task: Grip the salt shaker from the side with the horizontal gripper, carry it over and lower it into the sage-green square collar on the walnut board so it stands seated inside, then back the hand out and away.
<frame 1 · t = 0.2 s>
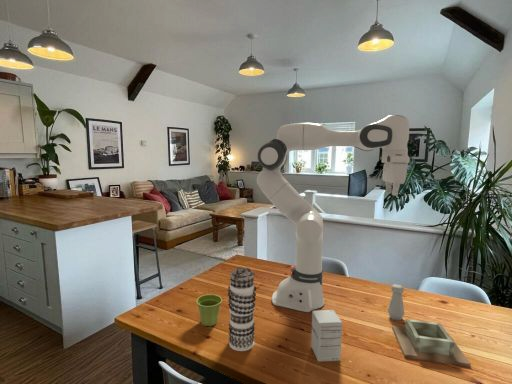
hand: (391, 194, 112), 48 cm above the table, tool pointing down, fingers open, 8 cm apart
supplement box: (325, 354, 91), on the table
plant pot: (209, 322, 107), on the table
salt shaker: (395, 318, 112), on the table
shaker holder: (427, 345, 95), on the table
decorative candle: (241, 343, 95), on the table
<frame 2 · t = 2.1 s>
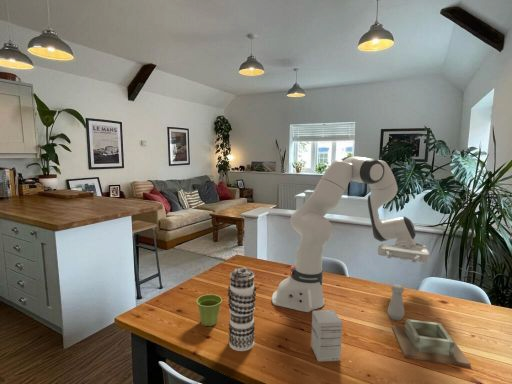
hand: (401, 258, 120), 20 cm above the table, tool horizontal, fingers open, 8 cm apart
nothing on the table moved.
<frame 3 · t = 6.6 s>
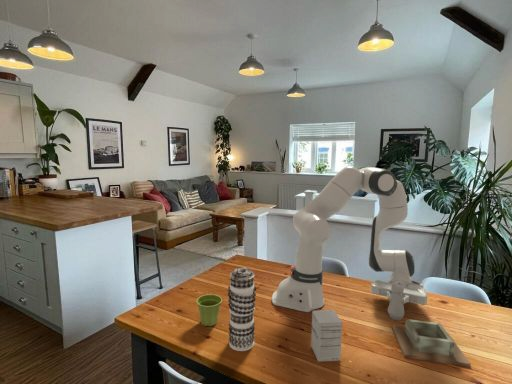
hand: (396, 300, 110), 8 cm above the table, tool horizontal, fingers closed on salt shaker, 3 cm apart
salt shaker: (395, 318, 112), on the table, touching gripper
everything else where it was.
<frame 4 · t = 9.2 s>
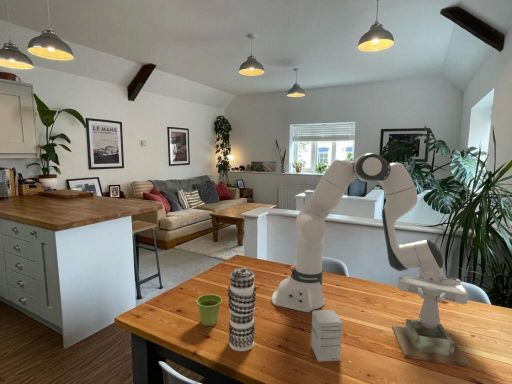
hand: (431, 298, 92), 17 cm above the table, tool horizontal, fingers closed on salt shaker, 3 cm apart
salt shaker: (428, 325, 94), point 7 cm above the table, touching gripper
everything else where it was.
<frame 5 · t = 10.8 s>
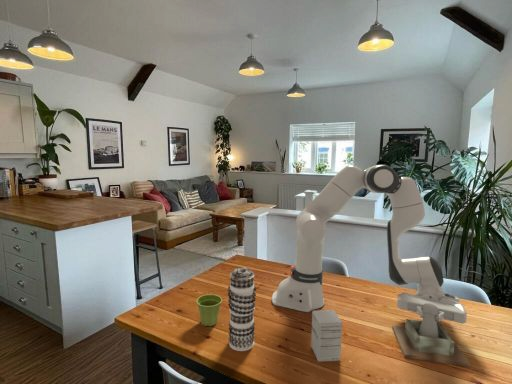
hand: (430, 317, 93), 10 cm above the table, tool horizontal, fingers closed on salt shaker, 3 cm apart
salt shaker: (427, 343, 95), point 1 cm above the table, touching gripper, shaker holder
everything else where it was.
when the fingers open (10 cm above the table, at t = 10.9 s): salt shaker stays where it is, resting on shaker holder.
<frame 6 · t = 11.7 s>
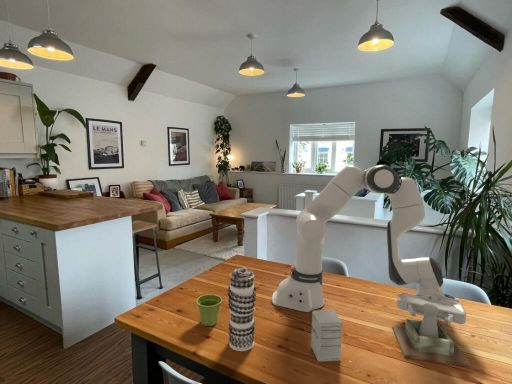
hand: (429, 318, 93), 10 cm above the table, tool horizontal, fingers open, 8 cm apart
salt shaker: (427, 343, 95), point 1 cm above the table, touching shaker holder
everything else where it was.
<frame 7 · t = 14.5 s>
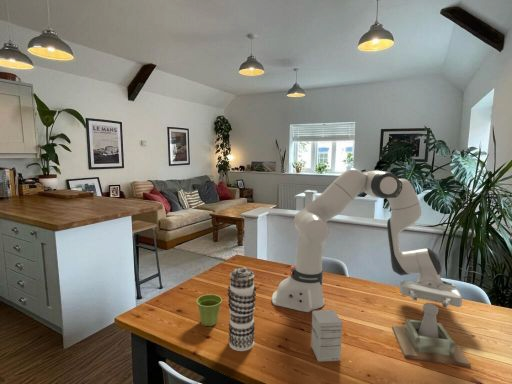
hand: (429, 301, 104), 10 cm above the table, tool horizontal, fingers open, 8 cm apart
nothing on the table moved.
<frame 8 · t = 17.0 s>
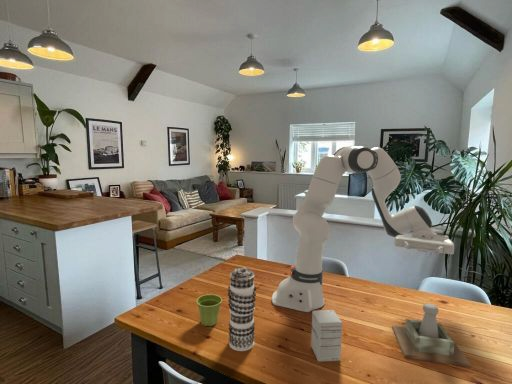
hand: (422, 249, 107), 28 cm above the table, tool horizontal, fingers open, 8 cm apart
nothing on the table moved.
at the end: salt shaker 0.1 cm off-centre on the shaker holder, point 0.8 cm above the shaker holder's base; salt shaker tilted 0°; the gripper is holding nothing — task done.
